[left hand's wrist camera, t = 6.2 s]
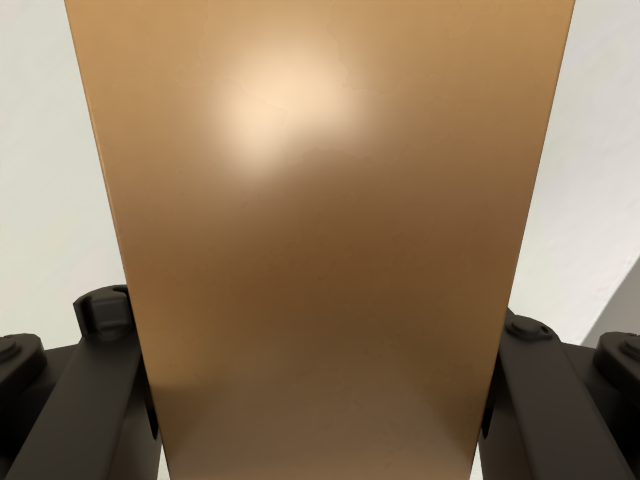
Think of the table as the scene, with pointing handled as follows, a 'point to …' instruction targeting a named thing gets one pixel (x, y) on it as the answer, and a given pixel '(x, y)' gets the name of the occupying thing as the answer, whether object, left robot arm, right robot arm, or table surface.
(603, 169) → the table surface
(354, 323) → the bar
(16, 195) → the table surface
